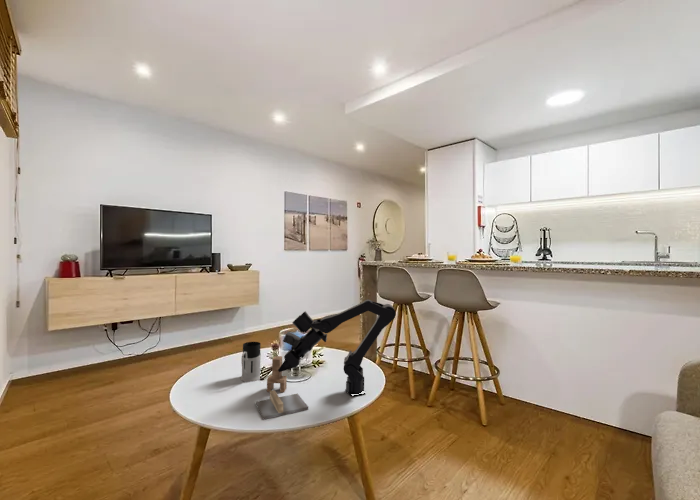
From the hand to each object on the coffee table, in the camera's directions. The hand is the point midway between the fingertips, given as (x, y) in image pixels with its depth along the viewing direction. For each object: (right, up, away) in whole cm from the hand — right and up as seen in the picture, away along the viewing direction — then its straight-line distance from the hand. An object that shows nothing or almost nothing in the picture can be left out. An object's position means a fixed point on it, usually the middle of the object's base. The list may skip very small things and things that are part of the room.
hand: (281, 366), depth 133 cm
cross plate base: (+3, -9, -14) cm, 17 cm away
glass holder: (-16, -9, +9) cm, 21 cm away
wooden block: (-2, -9, 0) cm, 10 cm away
